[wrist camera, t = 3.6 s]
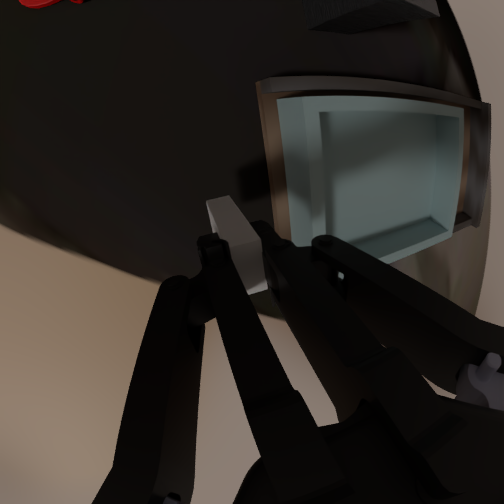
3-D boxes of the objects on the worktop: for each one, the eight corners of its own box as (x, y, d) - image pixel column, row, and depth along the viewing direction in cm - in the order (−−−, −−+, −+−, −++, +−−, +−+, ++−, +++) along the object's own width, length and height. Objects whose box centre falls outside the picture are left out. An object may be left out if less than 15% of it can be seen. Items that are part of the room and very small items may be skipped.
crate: (276, 99, 17) (301, 96, 13) (433, 103, 20) (463, 108, 17) (293, 265, 24) (313, 291, 21) (427, 222, 27) (451, 236, 24)
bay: (255, 82, 17) (275, 75, 13) (466, 99, 22) (490, 104, 18) (279, 275, 26) (297, 301, 22) (459, 214, 30) (479, 226, 27)
